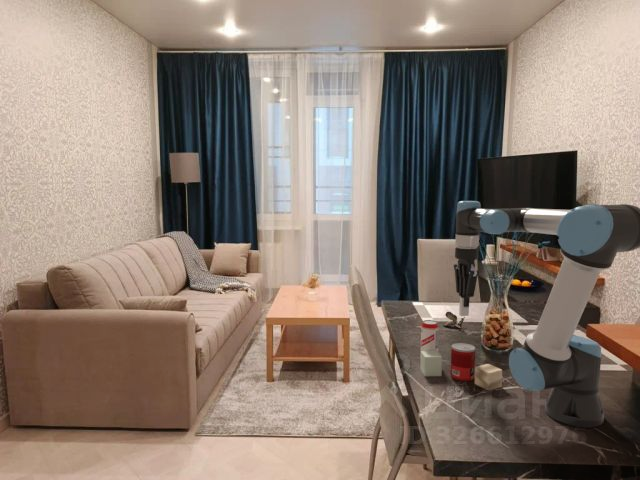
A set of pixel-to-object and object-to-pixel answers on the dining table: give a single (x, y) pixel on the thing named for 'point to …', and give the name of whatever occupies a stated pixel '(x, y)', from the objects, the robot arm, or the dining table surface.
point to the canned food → (462, 362)
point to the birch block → (488, 377)
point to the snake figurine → (455, 320)
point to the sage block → (431, 363)
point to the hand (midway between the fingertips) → (463, 315)
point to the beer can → (429, 336)
